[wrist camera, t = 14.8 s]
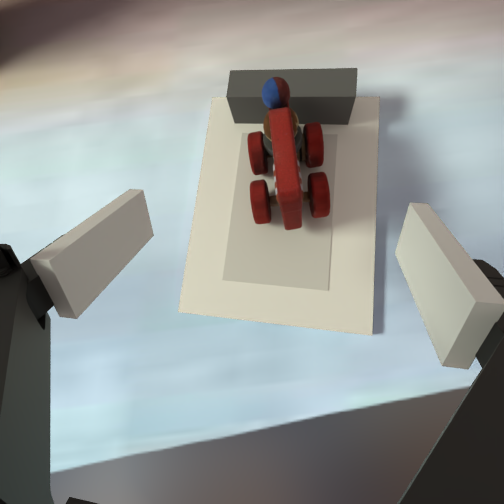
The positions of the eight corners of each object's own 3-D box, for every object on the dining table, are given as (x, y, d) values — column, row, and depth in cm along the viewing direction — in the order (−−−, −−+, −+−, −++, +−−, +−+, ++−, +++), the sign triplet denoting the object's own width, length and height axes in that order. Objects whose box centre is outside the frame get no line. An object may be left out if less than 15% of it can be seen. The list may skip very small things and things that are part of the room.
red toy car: (315, 123, 31) (326, 28, 21) (329, 237, 28) (349, 192, 18) (249, 132, 31) (229, 45, 21) (257, 244, 29) (237, 204, 19)
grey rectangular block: (237, 99, 33) (230, 70, 29) (349, 99, 31) (357, 68, 27) (234, 123, 32) (226, 97, 28) (348, 124, 30) (355, 96, 26)
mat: (214, 103, 34) (212, 96, 33) (377, 103, 31) (379, 96, 30) (181, 312, 29) (177, 311, 28) (369, 334, 27) (372, 335, 25)
